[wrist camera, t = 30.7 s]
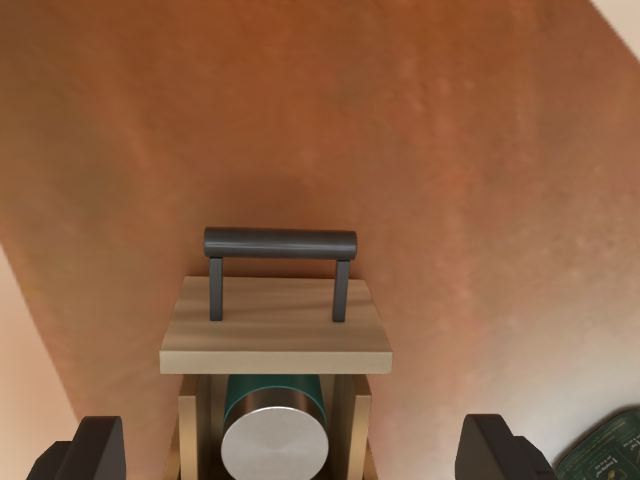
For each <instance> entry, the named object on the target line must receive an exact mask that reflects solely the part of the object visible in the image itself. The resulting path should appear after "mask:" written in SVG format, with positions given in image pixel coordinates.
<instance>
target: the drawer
mask: <svg viewBox="0 0 640 480" xmlns="http://www.w3.org/2000/svg"><path fill="white" fill-rule="evenodd" d="M356 254H357V235H356V232H355V231H341V230H307V229H273V228H239V227H206V228H205V231H204V255H205V256H206V257H210V258H209V277H198V276H185V278H184V281H183V284H182V287H181V290H180V292H179V295H178V298H177V301H176V304H175V307H174V310H173V313H172V316H171V319H170V322H169V325H168V328H167V331H166V334H165V337H164V339H163V342H162V345H161V348H160V351H159V355H160V373H161V374H184V375H183V379H182V383H181V387H180V391H179V395H178V405H179V433H180V462H181V480H235V479H234V478H233V477H232V476H231V475H230V474H229V472H228V471H227V469H226V468H225V466H224V463H223V461H222V457H221V444H222V435H223V431H222V427H223V418H224V409H225V400H226V391H227V383H228V378H229V374H319V377H320V382H321V389H322V396H323V402H324V409H325V415H326V422H327V435H328V442H329V451H328V456H327V459H326V461H325V463H324V465H323V467H322V468H321V470H320V471H319V472H318V473H317V474H316V475H315V476H314V477H313V478H312V479H311V480H362V477H363V468H364V460H365V451H366V443H367V434H368V426H369V418H370V409H371V401H372V394H371V390H370V387H369V384H368V380H367V377H366V374H391V368H392V361H393V350H392V348H391V345H390V343H389V340H388V337H387V335H386V332H385V330H384V327H383V325H382V322H381V320H380V317H379V315H378V312H377V310H376V307H375V305H374V302H373V300H372V297H371V295H370V292H369V290H368V287H367V284H366V282H365V280H351V279H349V269H350V260H355V258H356ZM223 257H232V258H275V259H317V260H336V269H335V279H300V278H249V277H223Z"/></svg>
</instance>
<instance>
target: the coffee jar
mask: <svg viewBox="0 0 640 480" xmlns="http://www.w3.org/2000/svg"><path fill="white" fill-rule="evenodd" d="M555 475H556V476H557V477H558V479H559V480H640V410H630V411H627V412H624V413H622V414H620V415H618V416H616V417H615V418H613V419H612V420H610V421H609V422H607V423H606V424H604V425H603V426H601V427H600V428H599V429H597V430H596V431H595V432H593V433H592V434H591V435H590V436H588V437H587V438H586V439H585V440H584V441H583V442H582V443H580V444H579V445H578V446H577V447H576V448H575V449H574V450H573V451H571V452H570V453H569V454H568V455H567V456H566V457H565V458H564V460H563V461H562V462H561V463H560V465H559V466H558V468H557V470H556V473H555Z"/></svg>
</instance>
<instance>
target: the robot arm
mask: <svg viewBox="0 0 640 480" xmlns="http://www.w3.org/2000/svg"><path fill="white" fill-rule="evenodd" d="M455 479H456V480H559V479H558V477H557V476H556V475H554V473H553V469H552V468H551V466H550V465H549V463H548V461H547V460H546V458H545V457H544V455H543V454H542V452H541V451H540V450H539V449H537V448H536V447H535V446H534V445H533V444H532V443H530V442H529V441H528V440H527V439H526V438H525V437H523V436H513V434H512V433H511V431H510V429H509V427H508V426H507V424H506V422H505V421H504V419H503V418H502V416H501V415H499V414H467V415H466V417H465V419H464V423H463V427H462V432H461V437H460V442H459V447H458V452H457V456H456V461H455ZM26 480H126V462H125V451H124V440H123V429H122V420H121V417H120V416H86V417H84V418H83V419H82V421H81V423H80V425H79V427H78V429H77V431H76V434H75V436H74V438H73V440H72V441H56V442H55V443H54V444H53V445H52V446H51V447H49V448H48V449H47V450H46V451H45V452H44V453H43V454H42V455H41V456H40V457H39V458H38V459H37V460H36V461H35V464H34V465H33V467H32V469H31V471H30V473H29V475H28V477H27V479H26Z"/></svg>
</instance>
